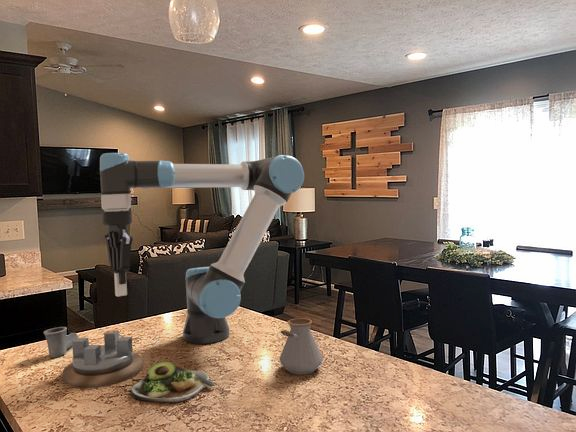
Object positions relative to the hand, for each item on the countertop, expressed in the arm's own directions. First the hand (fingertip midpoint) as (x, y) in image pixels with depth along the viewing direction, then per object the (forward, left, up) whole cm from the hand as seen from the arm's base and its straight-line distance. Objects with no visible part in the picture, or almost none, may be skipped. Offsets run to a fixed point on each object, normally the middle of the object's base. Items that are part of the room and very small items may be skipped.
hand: (121, 295), depth 127 cm
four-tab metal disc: (+4, +4, -18) cm, 19 cm away
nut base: (+4, +4, -20) cm, 21 cm away
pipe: (+24, -12, -20) cm, 33 cm away
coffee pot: (-48, +9, -20) cm, 53 cm away
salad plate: (-17, +14, -21) cm, 30 cm away
